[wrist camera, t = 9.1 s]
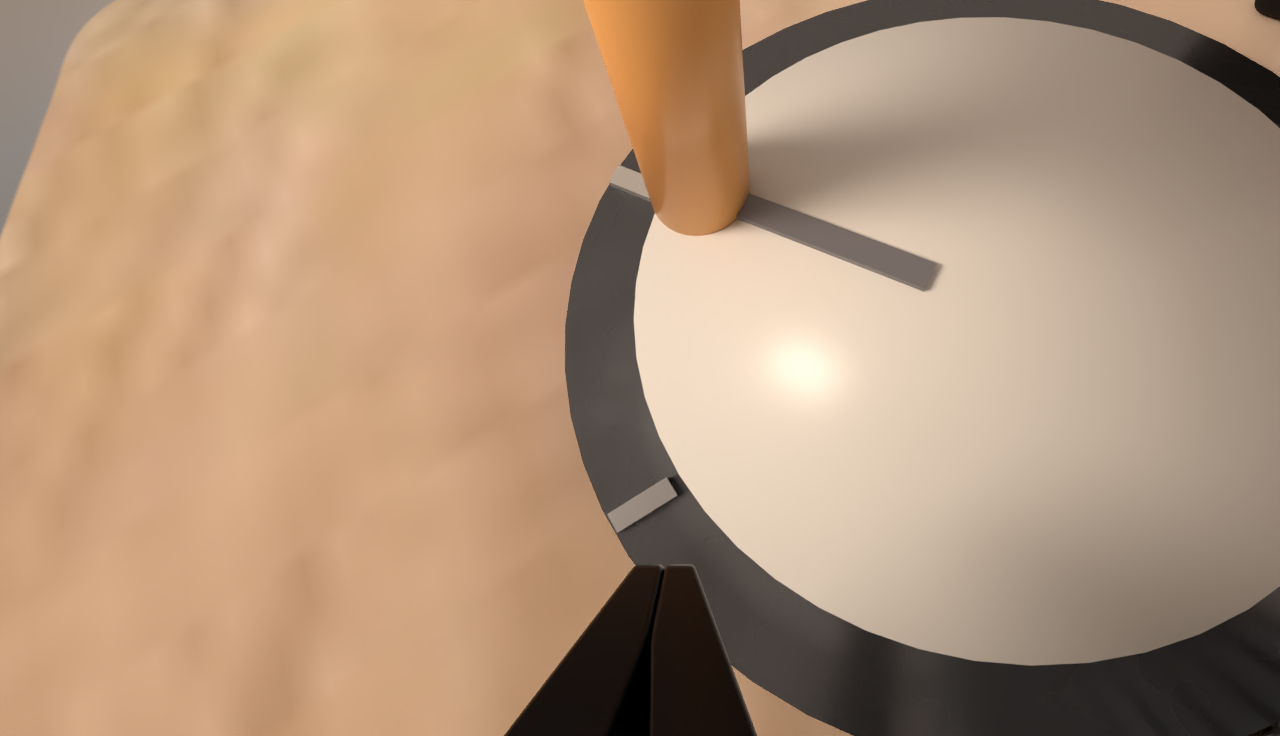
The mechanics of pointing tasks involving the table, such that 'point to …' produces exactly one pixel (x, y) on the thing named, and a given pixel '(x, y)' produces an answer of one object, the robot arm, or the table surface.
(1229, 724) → the dial plate
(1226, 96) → the dial
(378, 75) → the table surface
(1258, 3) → the battery
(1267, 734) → the towel
